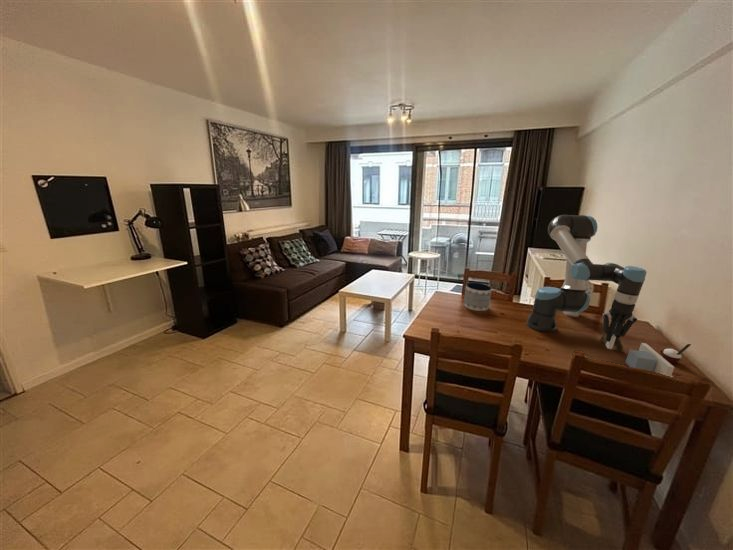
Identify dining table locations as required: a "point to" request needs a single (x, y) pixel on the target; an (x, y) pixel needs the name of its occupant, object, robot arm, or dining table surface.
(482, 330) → the dining table surface
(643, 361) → the block
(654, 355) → the board
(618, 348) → the rock
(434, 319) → the dining table surface
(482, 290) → the planter
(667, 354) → the cocoa
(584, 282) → the vase
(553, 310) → the robot arm
